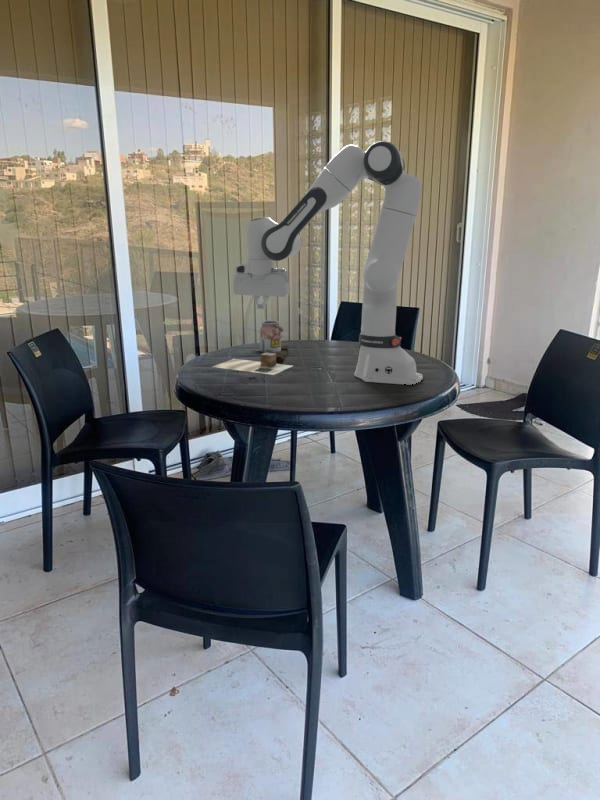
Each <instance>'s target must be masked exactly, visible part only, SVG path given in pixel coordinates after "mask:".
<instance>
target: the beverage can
mask: <svg viewBox="0 0 600 800" xmlns="http://www.w3.org/2000/svg"><path fill="white" fill-rule="evenodd" d="M259 331H260V333H259V334H260V335H259V338H260V342H259V343H260V344H259V346H260V347H259V349H260V352H262V353H266V352H267V353H276V354H279V353H280V351H281V348H282V333H283V332H284V331H285V329H284V328H283V327H282V326H281V325H280V322H279V321H277V320H263V321H262V323H261V327H260V330H259Z"/></svg>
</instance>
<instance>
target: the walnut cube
mask: <svg viewBox="0 0 600 800" xmlns="http://www.w3.org/2000/svg"><path fill="white" fill-rule="evenodd" d="M276 356H277V353H270V352H262V353H260V362H261V366H266V367H272V366H275V365H276V364H277V363H276Z"/></svg>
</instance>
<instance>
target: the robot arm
mask: <svg viewBox="0 0 600 800" xmlns="http://www.w3.org/2000/svg"><path fill="white" fill-rule="evenodd" d="M364 179H368V180H370V181H373V182H374V183H377V184H379V185H381V186H383V187H384V191H385V192H384V198H383V202H382V204H381V208H380V213H379V216H378V218H377V223H376V226H375V230H374V234H373V238H372V239H371V240H372V241H371V244H370V247H369V251H368V255H367V258H366V261H365V266H364V269H363V272H362V273H363V274H362V276H363V277H362V278H363V292H362V306H361V308H362V309H361V325H360V333H359V337H358V350H359V353H358V359H357V363H356V367H355V372H354V373H353V375H354V377H356V378H358V379H361V380H362V381H363V382H365V383H366V382H367V383H379V384H391V385H392V384H394V385H404V384H406V385H409V386H411V385H412V384H413V385H416V383H417V384H419V383H421V382H422V381H423V377H424V375H423V374H422V373H419V372H417V365H416V364H417V363H416V361H415V358H414V357H412V356H411V354H409V353H408V352H407V351H406V350H404V349H403V348H402V347H401V341H402V336H398V335H397V334H396V324H397V323H396V322H397V304H398V303H397V301H398V281H399V279H400V275H401V272H402V268H403V264H404V261H405V257H406V255H407V254H406V253H407V250H408V247H409V245H408V244H409V242H410V239H411V235H412V232H413V228H414V225H415V221H416V219H417V215H418V211H419V207H420V203H421V196H422V183H421V181H420V179H418V178H417V177H416V176H415V175H413V174H410V173H407V172H405V160H404V157H403V155H402V153H401V150H399V149H398V148H397V146H395V144H393V143H392V142H389V141H385V140H379V141H376V142H374V143H373V144H371V145H370V146H369V147H368V148H367V150H366V151H365V150H364V149H362V148H361V147H360V146H358V145H355V144H347V145H346V146H344V147H343V148H342V149H341V150H339V152H337V153H336V154H335V155H334V156H332V158H331V159H330V160H329V161H328V162H327V164H326V165H325V166H324V167H323V169H322V170H321V171H320V172H319V174H318V176H316V178H315V180H314V181H313V182H312V184H311V186H310V187H309V189H307V192H306V193H305V194H304V195H303V197H302V198H301V200H300V201H299V202H298V203H297V204H296V205H295V207H293V209H292V210H291V211H290V212H289V213H288V214H287V215H286V217H285V218H284V219H283V220H282V221H281V222H280V223H278V222H276V221H275V220H273V219H272V218H271V217H269V216H267V217H266V216H264V217H258V218H254V219H251V220H250V221H249V222H248V224H247V229H246V230H247V232H246V247H247V251H248V252H247V258H246V259H247V262H246V263H243V264H240V265H237V266H235V267H234V270H233V271H234V273H235V274H234V276H233V279H232V281H233V282H232V284H233V285H232V291H233V293H234V295H237V296H252V298H253V299H252V300H253V301H254V303H255V304H256V309H257V310H267V304H268V302H269V301H270V297H277V298H279V297H281V298H285V297H288V296H289V295H290V283H289V279H290V278H289V277H290V273H289V272H288V270H286V269H285V268H284V267H282V268H277V267H276V268H275V267H274V261H275V262H279V261H282V260H284V259H289V258H293V257H294V256H296V255H297V254H299V252H301V249H302V246H303V242H302V241H303V240H302V237H301V235H300V233H301V232H302V231H303V230H304V229H305V228H306V226H307V225H308V224H309V223H310V222H311V221H312V220H313V218H315V217H316V216H317V215H319V214H320V213H323V212H324V211H326V210H330V209H331V208H334V207H337V206H338V205H339V204H340V203H341V202H342V201H344V200H345V199H346V198H347V197H348V195H350V193H351V192H352V191H353V190H354V189H355V187H356V186H357V185H358V184H359V183H360V182H361V181H362V180H364ZM260 297H262V300H263V302H262V303H261V301H260ZM421 380H422V381H421ZM418 382H419V383H418Z"/></svg>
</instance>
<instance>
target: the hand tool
mask: <svg viewBox="0 0 600 800" xmlns="http://www.w3.org/2000/svg"><path fill="white" fill-rule="evenodd" d="M289 352H290V351H289V346H288V345H284V346H281V351H280V352H279V353H277V354H276V364H284V361H285V360H286V359H287V357H288V355H289Z"/></svg>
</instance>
